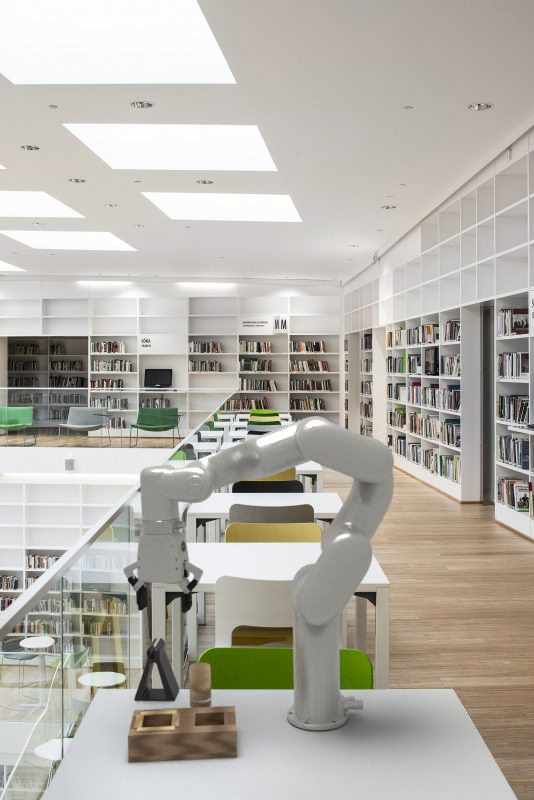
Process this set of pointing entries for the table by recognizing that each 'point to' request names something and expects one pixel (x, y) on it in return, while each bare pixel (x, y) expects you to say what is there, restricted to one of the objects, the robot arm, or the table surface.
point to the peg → (200, 685)
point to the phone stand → (165, 674)
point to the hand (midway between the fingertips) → (164, 609)
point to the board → (182, 734)
